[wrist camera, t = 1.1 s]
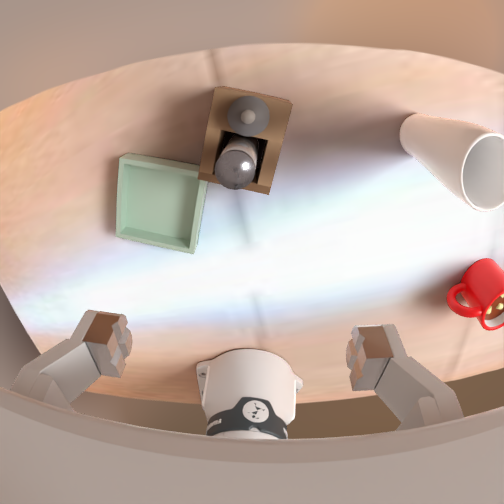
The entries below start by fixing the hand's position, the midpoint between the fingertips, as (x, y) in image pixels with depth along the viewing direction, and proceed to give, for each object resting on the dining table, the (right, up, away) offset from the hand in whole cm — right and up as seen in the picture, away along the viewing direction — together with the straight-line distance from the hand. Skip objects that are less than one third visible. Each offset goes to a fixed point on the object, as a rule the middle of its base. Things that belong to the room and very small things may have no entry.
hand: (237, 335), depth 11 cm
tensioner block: (0, +16, +22) cm, 27 cm away
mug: (+34, -2, +31) cm, 47 cm away
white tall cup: (+20, +17, +21) cm, 33 cm away
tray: (-10, +9, +27) cm, 30 cm away
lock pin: (0, +15, +23) cm, 27 cm away
